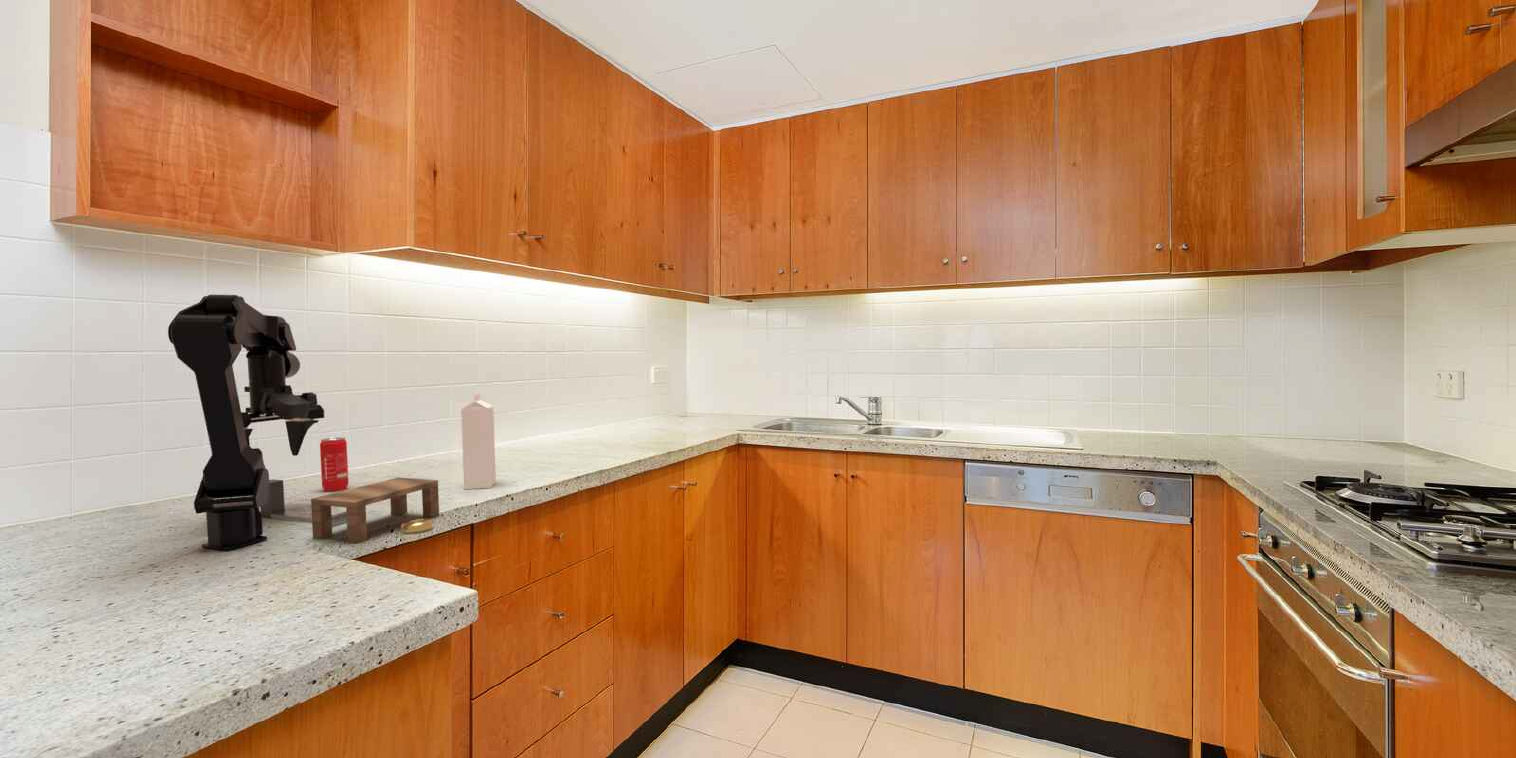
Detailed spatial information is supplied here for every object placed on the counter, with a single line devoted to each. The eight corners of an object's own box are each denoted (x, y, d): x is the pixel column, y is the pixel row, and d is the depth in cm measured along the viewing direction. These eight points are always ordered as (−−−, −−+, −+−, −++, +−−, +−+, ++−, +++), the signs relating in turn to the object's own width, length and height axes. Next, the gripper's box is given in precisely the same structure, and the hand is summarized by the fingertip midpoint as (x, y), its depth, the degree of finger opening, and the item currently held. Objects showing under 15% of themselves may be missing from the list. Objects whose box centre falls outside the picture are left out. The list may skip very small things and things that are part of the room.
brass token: (423, 533, 112) (422, 525, 112) (395, 535, 112) (394, 526, 112) (438, 525, 117) (437, 517, 117) (412, 527, 117) (411, 519, 117)
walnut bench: (356, 543, 107) (354, 502, 107) (312, 538, 110) (310, 498, 110) (439, 515, 124) (437, 480, 124) (399, 511, 127) (398, 477, 127)
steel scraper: (330, 527, 117) (328, 490, 116) (251, 519, 123) (249, 483, 122) (359, 518, 123) (358, 483, 122) (283, 511, 129) (281, 477, 128)
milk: (496, 483, 154) (493, 392, 152) (491, 488, 148) (488, 394, 147) (469, 484, 152) (466, 393, 151) (463, 489, 146) (460, 395, 145)
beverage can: (327, 493, 144) (324, 441, 144) (318, 490, 148) (316, 439, 147) (352, 488, 149) (350, 438, 148) (343, 486, 152) (341, 436, 151)
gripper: (245, 384, 112) (250, 471, 113) (342, 378, 130) (346, 453, 131) (202, 384, 116) (207, 468, 117) (302, 378, 134) (306, 451, 134)
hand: (271, 459), depth 125 cm, fingers open, 9 cm apart
